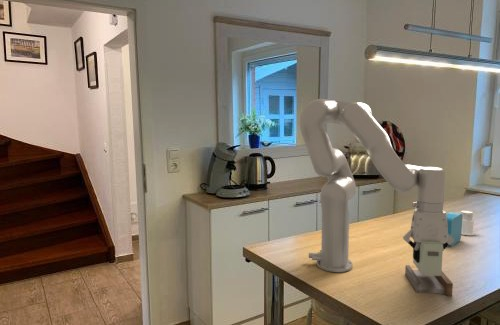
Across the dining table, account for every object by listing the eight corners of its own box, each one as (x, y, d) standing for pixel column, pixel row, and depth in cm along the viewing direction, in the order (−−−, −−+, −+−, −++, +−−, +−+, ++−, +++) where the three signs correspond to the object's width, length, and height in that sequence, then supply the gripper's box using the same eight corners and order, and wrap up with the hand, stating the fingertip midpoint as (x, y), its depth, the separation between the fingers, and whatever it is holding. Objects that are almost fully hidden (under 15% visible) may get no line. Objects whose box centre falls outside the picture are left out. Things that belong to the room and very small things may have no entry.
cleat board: (417, 294, 115) (418, 281, 115) (401, 267, 135) (401, 256, 134) (452, 296, 114) (452, 283, 114) (430, 268, 134) (430, 257, 133)
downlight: (472, 237, 166) (474, 214, 165) (454, 234, 170) (456, 212, 169) (475, 233, 172) (477, 211, 171) (457, 230, 176) (459, 209, 175)
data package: (449, 237, 165) (451, 210, 164) (461, 240, 162) (462, 212, 161) (439, 244, 157) (440, 216, 156) (450, 247, 154) (452, 218, 152)
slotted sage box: (422, 275, 117) (424, 244, 116) (413, 262, 127) (414, 233, 126) (441, 276, 116) (443, 245, 115) (430, 262, 126) (432, 233, 125)
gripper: (404, 208, 117) (401, 265, 119) (464, 210, 114) (460, 267, 117) (398, 202, 124) (396, 256, 126) (454, 204, 122) (450, 258, 124)
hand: (426, 261), depth 122 cm, fingers closed on slotted sage box, 5 cm apart
